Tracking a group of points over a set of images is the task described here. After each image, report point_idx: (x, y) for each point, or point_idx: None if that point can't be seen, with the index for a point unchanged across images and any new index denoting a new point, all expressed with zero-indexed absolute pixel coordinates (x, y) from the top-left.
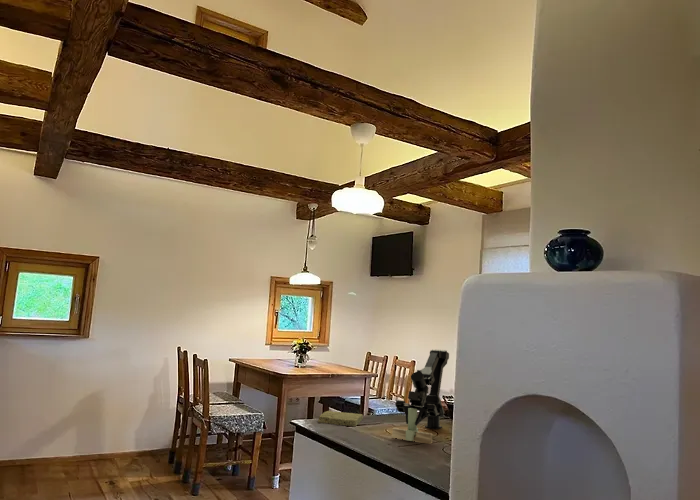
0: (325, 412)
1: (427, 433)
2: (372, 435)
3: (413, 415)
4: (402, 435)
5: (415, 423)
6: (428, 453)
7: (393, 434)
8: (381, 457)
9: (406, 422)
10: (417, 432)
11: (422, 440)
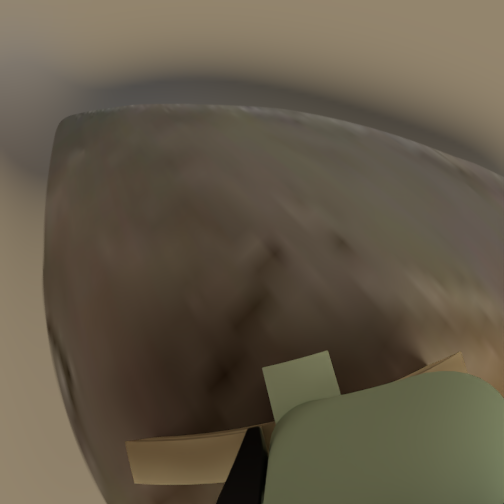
0: None
1: (162, 463)
2: (498, 308)
3: (298, 424)
4: None
5: (258, 427)
6: (99, 253)
7: (432, 364)
8: (226, 115)
9: None
10: None
11: (207, 433)
